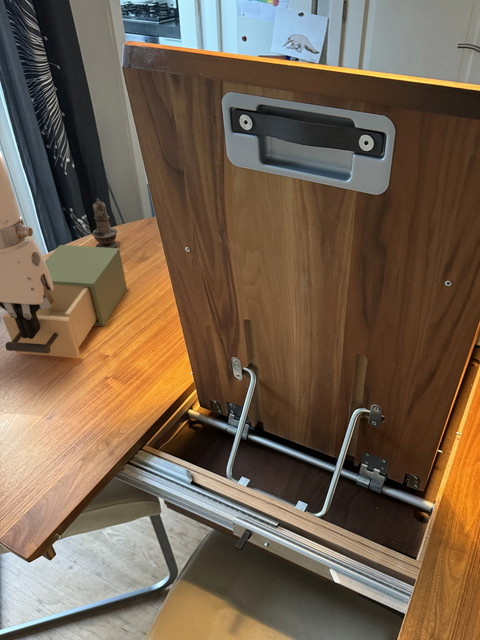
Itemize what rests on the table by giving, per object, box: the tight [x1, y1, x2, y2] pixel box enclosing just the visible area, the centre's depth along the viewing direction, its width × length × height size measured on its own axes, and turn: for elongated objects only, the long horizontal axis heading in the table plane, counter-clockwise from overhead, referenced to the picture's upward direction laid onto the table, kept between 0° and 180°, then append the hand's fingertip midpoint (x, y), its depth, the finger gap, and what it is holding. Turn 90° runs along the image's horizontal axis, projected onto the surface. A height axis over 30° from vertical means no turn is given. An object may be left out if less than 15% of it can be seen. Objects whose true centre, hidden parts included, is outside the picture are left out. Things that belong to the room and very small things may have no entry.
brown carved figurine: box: [91, 198, 119, 248], centre depth 124 cm, size 6×6×12 cm
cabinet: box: [44, 244, 128, 327], centre depth 104 cm, size 15×13×10 cm
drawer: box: [2, 285, 98, 358], centre depth 93 cm, size 18×11×8 cm, turn 175°
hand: (31, 333), depth 88 cm, fingers closed
